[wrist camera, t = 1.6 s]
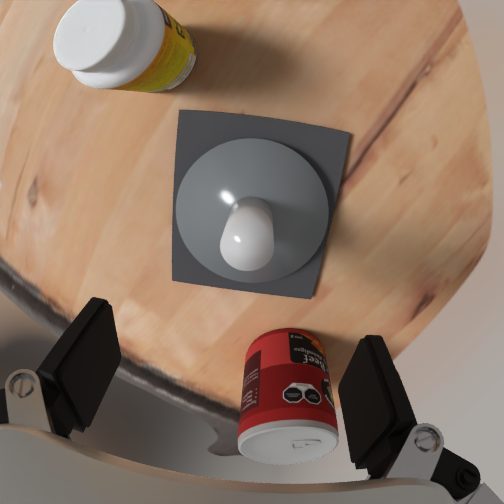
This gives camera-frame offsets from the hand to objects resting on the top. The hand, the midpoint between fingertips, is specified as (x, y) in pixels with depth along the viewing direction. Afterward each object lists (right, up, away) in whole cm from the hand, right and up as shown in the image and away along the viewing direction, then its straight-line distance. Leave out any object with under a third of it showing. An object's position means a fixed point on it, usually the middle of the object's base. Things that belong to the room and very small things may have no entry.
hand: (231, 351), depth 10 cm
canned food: (+4, -7, +19) cm, 20 cm away
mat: (+1, +7, +12) cm, 14 cm away
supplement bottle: (-6, +18, +7) cm, 20 cm away
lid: (+1, +7, +12) cm, 13 cm away
